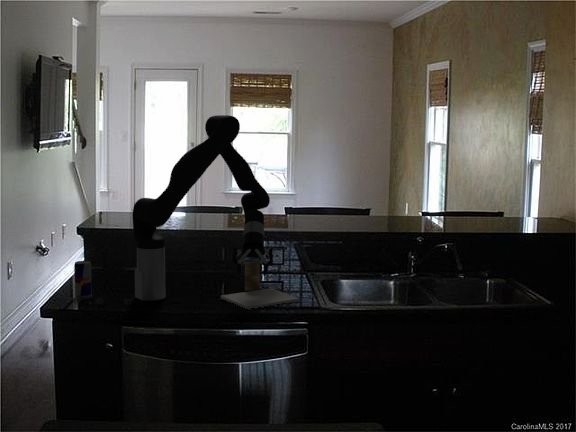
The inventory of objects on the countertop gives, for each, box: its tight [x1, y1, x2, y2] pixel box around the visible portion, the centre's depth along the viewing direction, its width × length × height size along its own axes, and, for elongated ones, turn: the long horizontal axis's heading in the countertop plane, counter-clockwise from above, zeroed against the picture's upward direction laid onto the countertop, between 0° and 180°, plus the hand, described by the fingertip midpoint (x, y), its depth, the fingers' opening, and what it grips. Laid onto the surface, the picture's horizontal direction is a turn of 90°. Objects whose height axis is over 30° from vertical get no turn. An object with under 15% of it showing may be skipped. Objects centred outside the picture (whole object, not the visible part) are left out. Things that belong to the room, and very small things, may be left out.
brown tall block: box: [244, 257, 261, 292], centre depth 281 cm, size 5×5×11 cm
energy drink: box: [73, 260, 93, 300], centre depth 267 cm, size 5×5×12 cm
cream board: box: [220, 287, 300, 310], centre depth 267 cm, size 20×17×1 cm
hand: (252, 274), depth 280 cm, fingers open, 8 cm apart
